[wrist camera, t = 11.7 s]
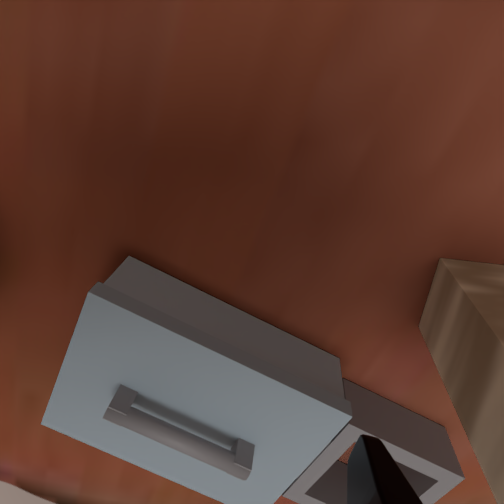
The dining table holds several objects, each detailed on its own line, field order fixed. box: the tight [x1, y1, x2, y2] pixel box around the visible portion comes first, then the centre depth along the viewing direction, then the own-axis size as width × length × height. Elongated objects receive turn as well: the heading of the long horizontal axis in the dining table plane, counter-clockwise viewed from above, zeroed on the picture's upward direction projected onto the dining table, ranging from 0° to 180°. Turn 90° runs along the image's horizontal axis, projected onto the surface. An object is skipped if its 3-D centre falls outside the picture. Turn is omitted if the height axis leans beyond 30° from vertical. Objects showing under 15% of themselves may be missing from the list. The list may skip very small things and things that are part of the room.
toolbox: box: [41, 256, 465, 504], centre depth 23 cm, size 23×10×6 cm, turn 63°
